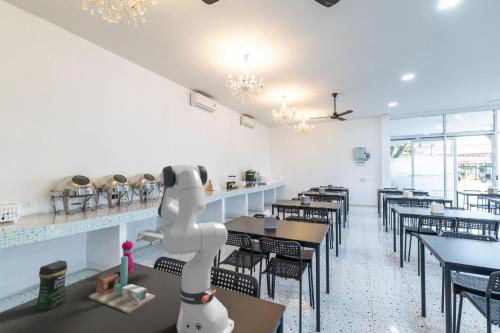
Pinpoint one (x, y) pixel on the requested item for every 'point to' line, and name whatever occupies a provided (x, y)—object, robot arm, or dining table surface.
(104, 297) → the tube fixture
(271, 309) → the dining table surface
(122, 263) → the tube
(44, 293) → the coffee jar
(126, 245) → the pepper mill
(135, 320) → the dining table surface
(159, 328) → the dining table surface
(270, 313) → the dining table surface
